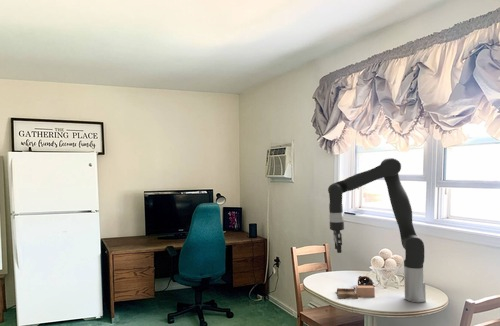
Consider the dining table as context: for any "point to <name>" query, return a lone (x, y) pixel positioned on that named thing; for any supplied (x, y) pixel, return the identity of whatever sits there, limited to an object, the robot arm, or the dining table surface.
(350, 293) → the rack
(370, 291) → the light brown block
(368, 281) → the dark brown rounded lump
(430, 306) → the dining table surface
